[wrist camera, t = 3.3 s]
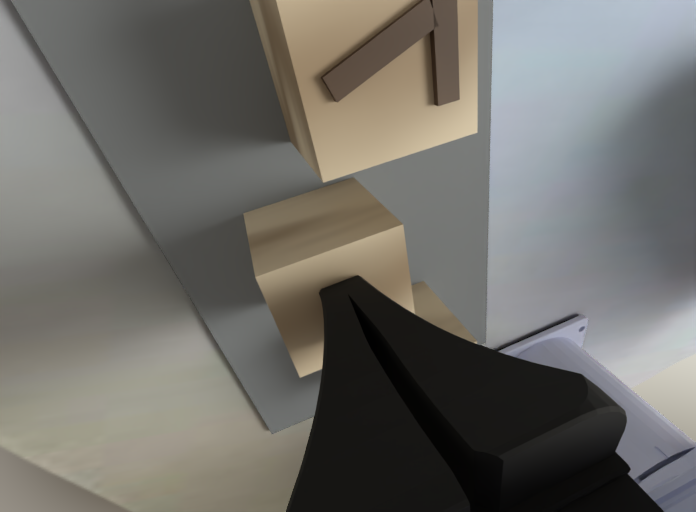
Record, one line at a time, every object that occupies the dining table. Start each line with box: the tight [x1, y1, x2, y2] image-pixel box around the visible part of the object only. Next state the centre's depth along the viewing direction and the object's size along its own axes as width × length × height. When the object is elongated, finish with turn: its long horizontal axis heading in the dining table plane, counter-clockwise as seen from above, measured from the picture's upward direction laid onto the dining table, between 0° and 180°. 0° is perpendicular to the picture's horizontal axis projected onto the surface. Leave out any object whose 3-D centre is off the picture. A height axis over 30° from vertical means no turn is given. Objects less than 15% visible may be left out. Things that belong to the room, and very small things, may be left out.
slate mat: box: [11, 0, 493, 434], centre depth 15 cm, size 22×14×1 cm, turn 12°
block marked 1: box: [411, 281, 477, 344], centre depth 17 cm, size 4×4×5 cm
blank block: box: [243, 177, 415, 378], centre depth 13 cm, size 4×4×4 cm
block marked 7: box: [249, 0, 478, 183], centre depth 10 cm, size 4×4×5 cm
